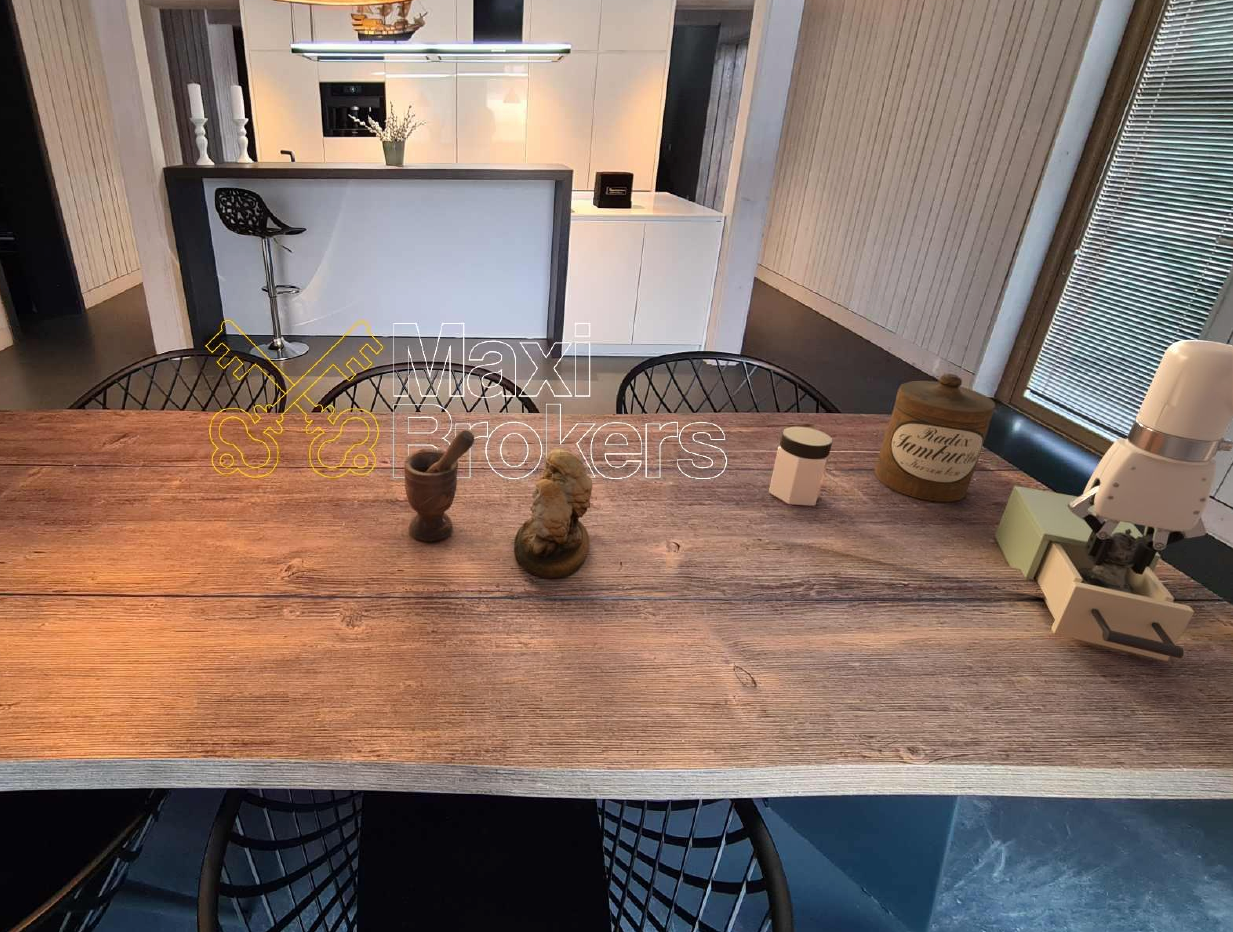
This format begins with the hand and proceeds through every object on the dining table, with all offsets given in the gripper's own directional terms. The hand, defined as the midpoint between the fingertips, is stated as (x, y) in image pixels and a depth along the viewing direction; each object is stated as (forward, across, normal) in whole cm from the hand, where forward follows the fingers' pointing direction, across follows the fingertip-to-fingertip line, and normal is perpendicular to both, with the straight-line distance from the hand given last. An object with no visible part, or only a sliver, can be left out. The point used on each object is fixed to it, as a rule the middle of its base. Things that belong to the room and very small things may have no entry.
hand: (1113, 562), depth 89 cm
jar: (+10, +37, -20) cm, 43 cm away
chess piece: (+7, 0, 0) cm, 7 cm away
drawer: (+9, 0, +3) cm, 9 cm away
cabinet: (+10, 0, -12) cm, 15 cm away
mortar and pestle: (+10, +91, +18) cm, 93 cm away
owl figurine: (+10, +73, +14) cm, 75 cm away
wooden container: (+10, +15, -34) cm, 39 cm away
